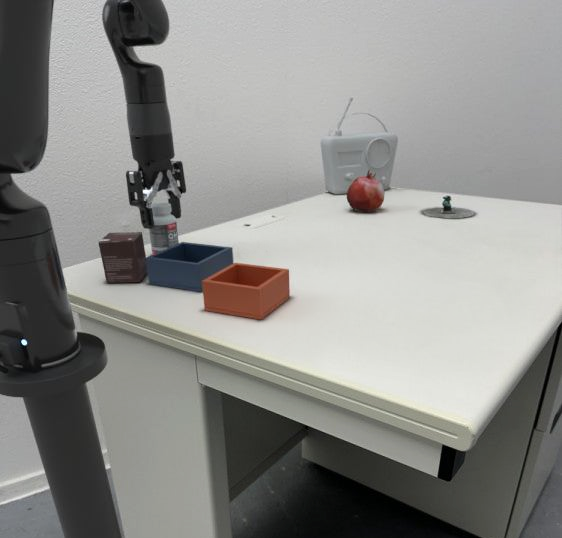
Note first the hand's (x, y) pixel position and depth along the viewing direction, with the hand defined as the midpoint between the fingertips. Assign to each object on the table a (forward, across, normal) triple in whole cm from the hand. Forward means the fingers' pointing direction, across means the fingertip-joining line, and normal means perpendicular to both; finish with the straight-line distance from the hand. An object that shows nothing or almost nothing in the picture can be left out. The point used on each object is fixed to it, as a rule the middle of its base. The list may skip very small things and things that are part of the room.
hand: (162, 222), depth 105 cm
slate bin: (+6, +10, +13) cm, 18 cm away
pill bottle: (+6, 0, 0) cm, 6 cm away
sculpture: (+7, -55, +44) cm, 71 cm away
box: (+6, +14, +2) cm, 16 cm away
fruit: (+7, -51, +24) cm, 57 cm away
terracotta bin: (+6, +17, +28) cm, 33 cm away
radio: (+7, -76, +14) cm, 77 cm away
